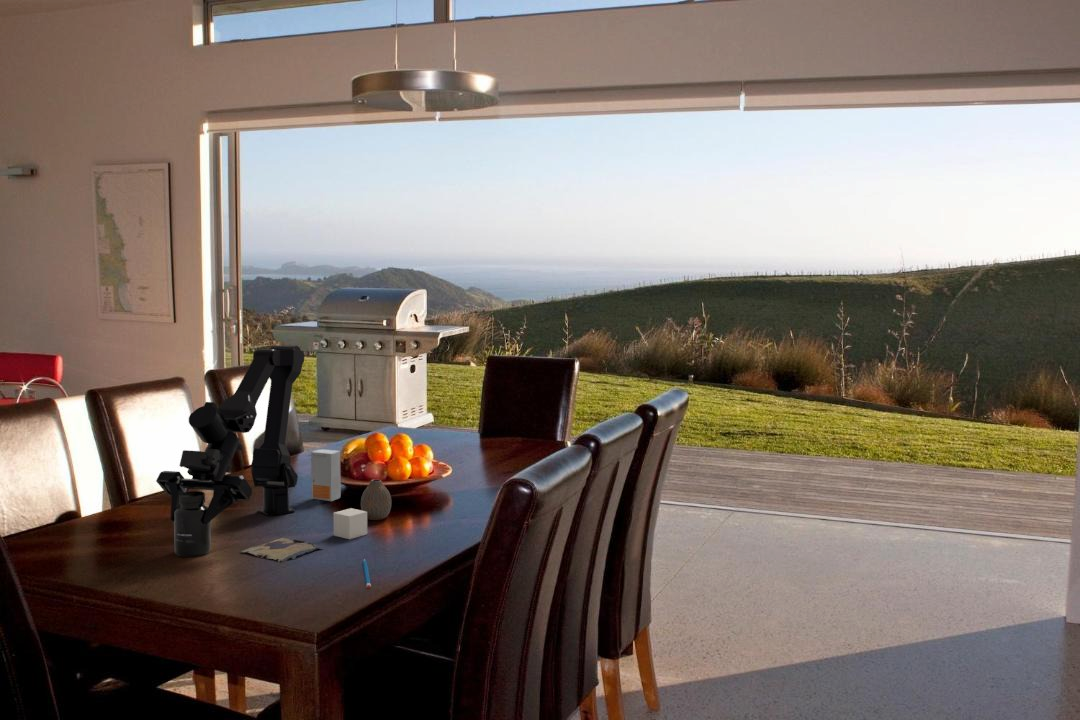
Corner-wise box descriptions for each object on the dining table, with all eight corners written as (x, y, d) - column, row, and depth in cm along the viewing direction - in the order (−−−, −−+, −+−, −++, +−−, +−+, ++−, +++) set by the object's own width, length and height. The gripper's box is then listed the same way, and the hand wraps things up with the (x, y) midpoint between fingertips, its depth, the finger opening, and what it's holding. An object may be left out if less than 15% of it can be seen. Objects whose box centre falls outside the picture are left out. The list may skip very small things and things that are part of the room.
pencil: (366, 589, 167) (366, 586, 167) (362, 561, 183) (362, 557, 183) (371, 589, 167) (371, 585, 167) (366, 560, 183) (366, 557, 183)
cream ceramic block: (333, 535, 200) (333, 512, 200) (351, 530, 204) (351, 508, 204) (349, 539, 197) (349, 516, 197) (367, 534, 201) (367, 511, 201)
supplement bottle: (176, 559, 183) (174, 499, 181) (172, 550, 189) (170, 491, 188) (213, 554, 186) (212, 495, 185) (208, 546, 192) (207, 488, 191)
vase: (385, 522, 210) (384, 484, 210) (356, 521, 212) (355, 482, 211) (395, 515, 217) (395, 477, 216) (367, 513, 219) (367, 476, 218)
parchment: (283, 565, 181) (282, 560, 181) (236, 554, 187) (236, 549, 187) (328, 549, 191) (328, 544, 191) (283, 539, 198) (282, 535, 198)
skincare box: (310, 499, 232) (310, 451, 231) (321, 495, 236) (320, 448, 235) (331, 501, 230) (330, 453, 229) (341, 498, 234) (340, 450, 232)
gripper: (160, 431, 191) (127, 497, 181) (243, 435, 187) (213, 503, 177) (184, 462, 199) (153, 526, 190) (264, 466, 195) (237, 532, 185)
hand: (188, 521), depth 185 cm, fingers closed on supplement bottle, 7 cm apart
